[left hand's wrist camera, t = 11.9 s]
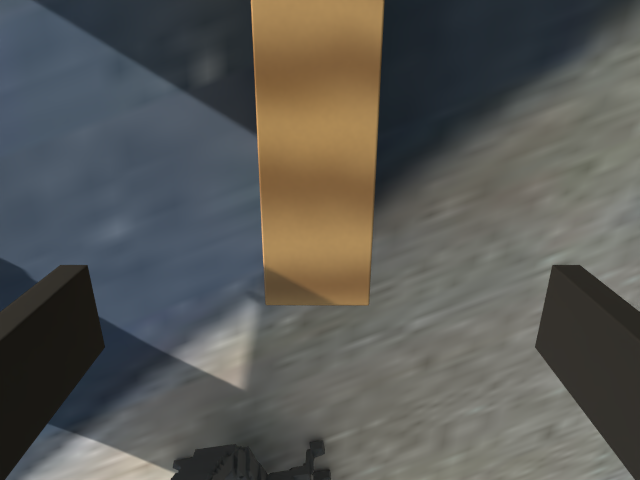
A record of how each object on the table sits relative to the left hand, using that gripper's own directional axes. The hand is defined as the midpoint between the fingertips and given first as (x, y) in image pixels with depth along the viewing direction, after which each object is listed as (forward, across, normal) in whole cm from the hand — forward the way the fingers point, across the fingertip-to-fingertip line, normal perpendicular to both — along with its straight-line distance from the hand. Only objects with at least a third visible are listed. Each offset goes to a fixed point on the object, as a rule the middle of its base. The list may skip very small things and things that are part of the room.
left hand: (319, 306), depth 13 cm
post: (+18, 0, -27) cm, 33 cm away
